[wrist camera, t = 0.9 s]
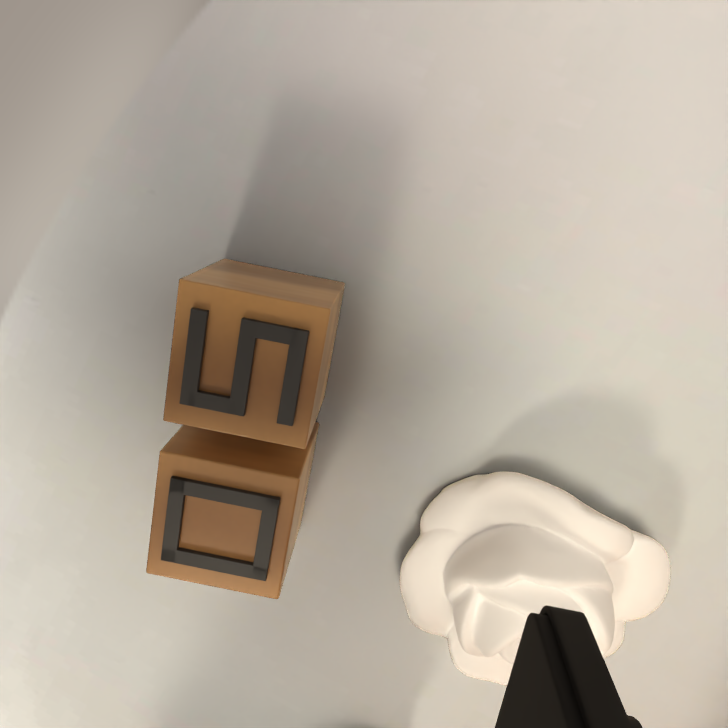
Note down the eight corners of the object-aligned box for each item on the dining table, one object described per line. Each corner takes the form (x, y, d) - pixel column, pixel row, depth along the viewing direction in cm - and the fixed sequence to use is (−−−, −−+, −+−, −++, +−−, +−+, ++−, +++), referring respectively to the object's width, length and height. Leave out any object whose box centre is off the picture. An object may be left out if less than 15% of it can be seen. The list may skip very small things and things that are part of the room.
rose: (683, 479, 21) (721, 729, 23) (635, 427, 25) (671, 643, 27) (371, 542, 22) (438, 773, 24) (377, 482, 26) (433, 684, 29)
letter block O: (205, 399, 26) (156, 453, 21) (319, 422, 26) (299, 481, 21) (191, 502, 27) (142, 577, 22) (300, 524, 27) (277, 603, 22)
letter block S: (223, 258, 24) (176, 279, 19) (345, 282, 24) (330, 310, 19) (208, 374, 25) (160, 423, 20) (324, 398, 25) (304, 452, 20)
